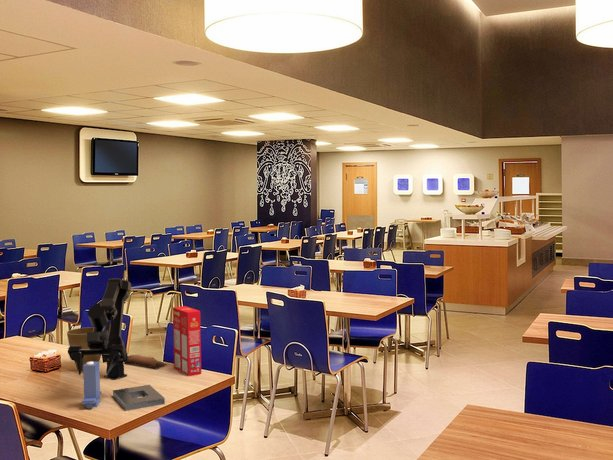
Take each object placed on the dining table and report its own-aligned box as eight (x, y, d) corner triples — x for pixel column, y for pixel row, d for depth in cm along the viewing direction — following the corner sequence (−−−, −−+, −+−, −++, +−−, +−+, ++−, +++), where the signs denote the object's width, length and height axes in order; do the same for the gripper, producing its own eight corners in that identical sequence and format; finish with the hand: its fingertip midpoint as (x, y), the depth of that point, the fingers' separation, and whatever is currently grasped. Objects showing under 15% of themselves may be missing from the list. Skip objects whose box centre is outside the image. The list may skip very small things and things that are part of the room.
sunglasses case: (170, 364, 266) (164, 352, 263) (160, 376, 261) (154, 364, 258) (138, 359, 275) (132, 348, 272) (128, 371, 270) (121, 359, 267)
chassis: (113, 395, 225) (112, 390, 225) (149, 390, 231) (149, 384, 231) (125, 410, 209) (125, 404, 209) (164, 403, 216) (164, 398, 215)
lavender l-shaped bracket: (90, 400, 220) (89, 357, 220) (102, 399, 221) (101, 357, 220) (82, 409, 210) (80, 365, 210) (94, 409, 211) (93, 365, 210)
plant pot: (114, 367, 263) (113, 328, 262) (84, 376, 250) (83, 335, 249) (90, 362, 271) (89, 325, 270) (60, 370, 258) (58, 331, 257)
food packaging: (201, 374, 251) (200, 311, 250) (188, 376, 249) (187, 312, 247) (186, 366, 264) (184, 305, 262) (174, 368, 261) (172, 307, 259)
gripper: (68, 322, 221) (59, 362, 210) (123, 321, 222) (116, 360, 212) (75, 340, 229) (67, 379, 219) (128, 339, 230) (122, 377, 220)
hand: (93, 373), depth 217 cm, fingers open, 9 cm apart
